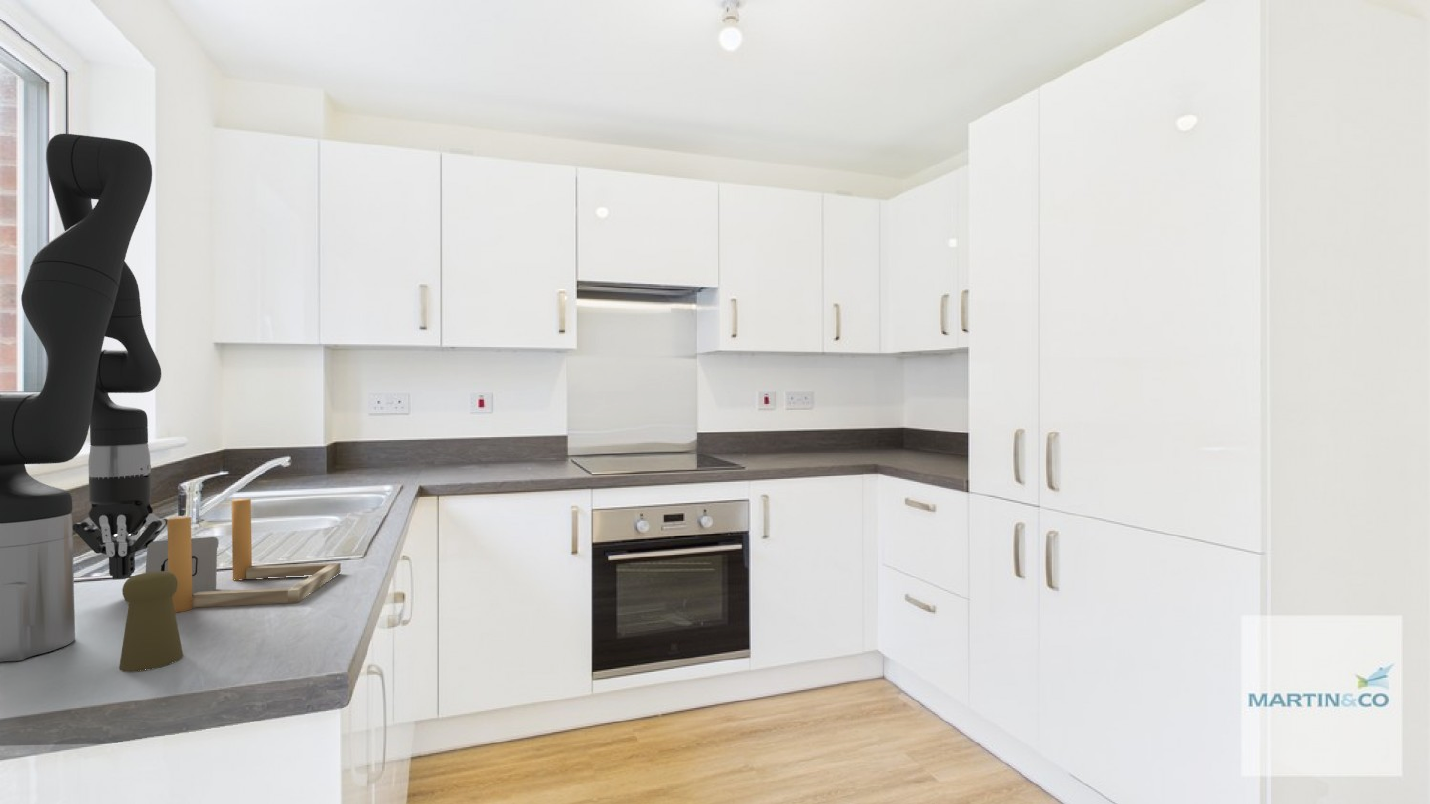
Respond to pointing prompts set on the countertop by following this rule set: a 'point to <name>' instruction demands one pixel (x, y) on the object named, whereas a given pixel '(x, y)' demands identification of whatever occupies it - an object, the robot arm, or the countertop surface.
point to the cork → (150, 622)
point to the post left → (180, 561)
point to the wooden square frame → (273, 595)
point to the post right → (241, 537)
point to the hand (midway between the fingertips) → (122, 577)
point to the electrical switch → (201, 561)
